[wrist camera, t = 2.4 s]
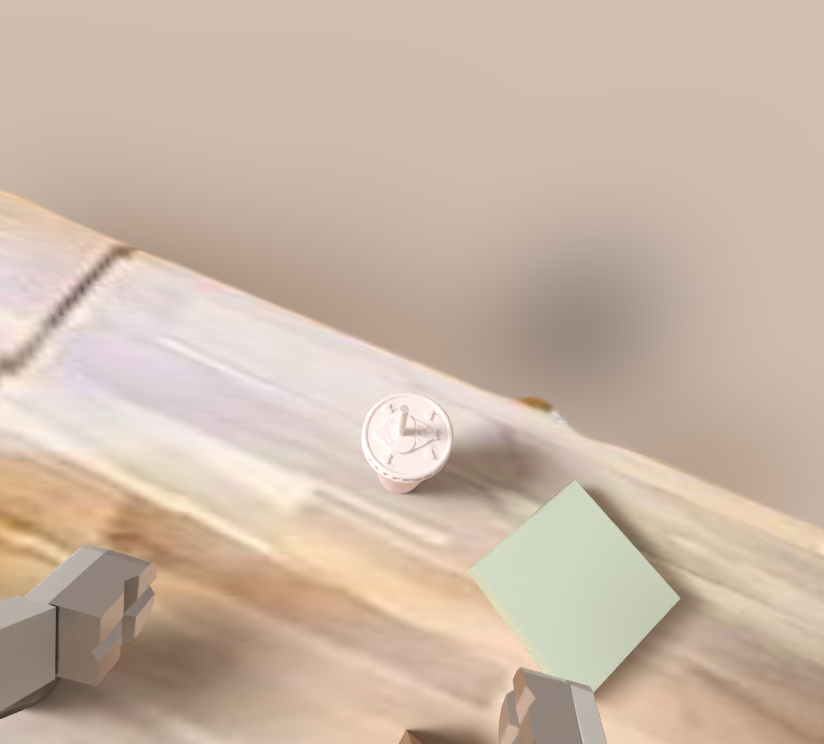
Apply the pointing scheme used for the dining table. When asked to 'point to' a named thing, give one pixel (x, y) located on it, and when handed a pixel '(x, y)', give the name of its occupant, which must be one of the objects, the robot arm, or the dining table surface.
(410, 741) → the brick
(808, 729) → the dining table surface
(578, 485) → the pedestal
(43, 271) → the dining table surface
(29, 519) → the dining table surface
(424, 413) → the smoothie
